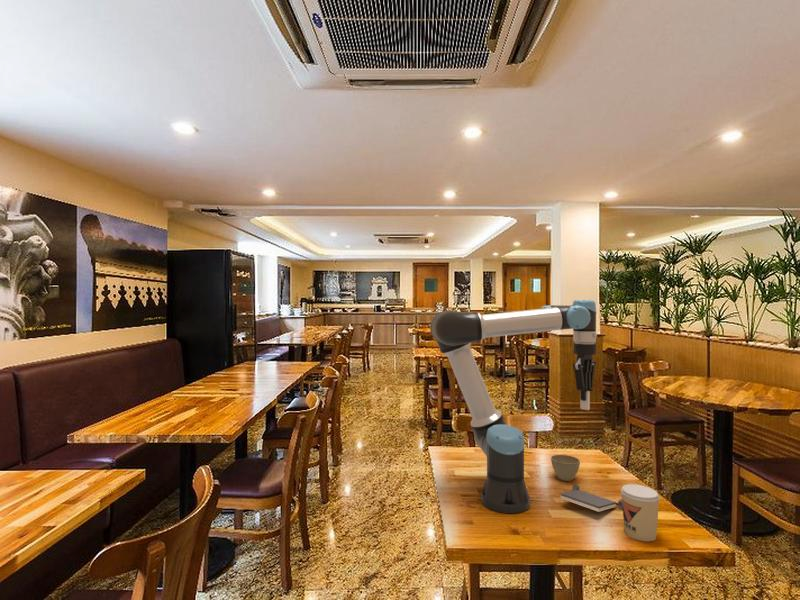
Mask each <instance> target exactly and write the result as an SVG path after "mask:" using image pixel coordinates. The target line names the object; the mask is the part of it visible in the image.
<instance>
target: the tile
mask: <svg viewBox="0 0 800 600" xmlns="http://www.w3.org/2000/svg"><path fill="white" fill-rule="evenodd" d="M560 499H561V500H564V501H567V502H570V503H573V504H576V505H578V506H581V507H584V508H587V509H590V510H592V511H595V512H598V513H599V512H602V511H606V510H609V509H614V508H616V506H617V505H616V503H617V502H616V501H614V500H611V499H609V498H608V499H607V498H605V497H602V496H599V495H596V494H593V493H589V492H588V491H583V490H581V489H580V490H575V491H572V490H570V491H567V492H561V493H560Z"/></svg>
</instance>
